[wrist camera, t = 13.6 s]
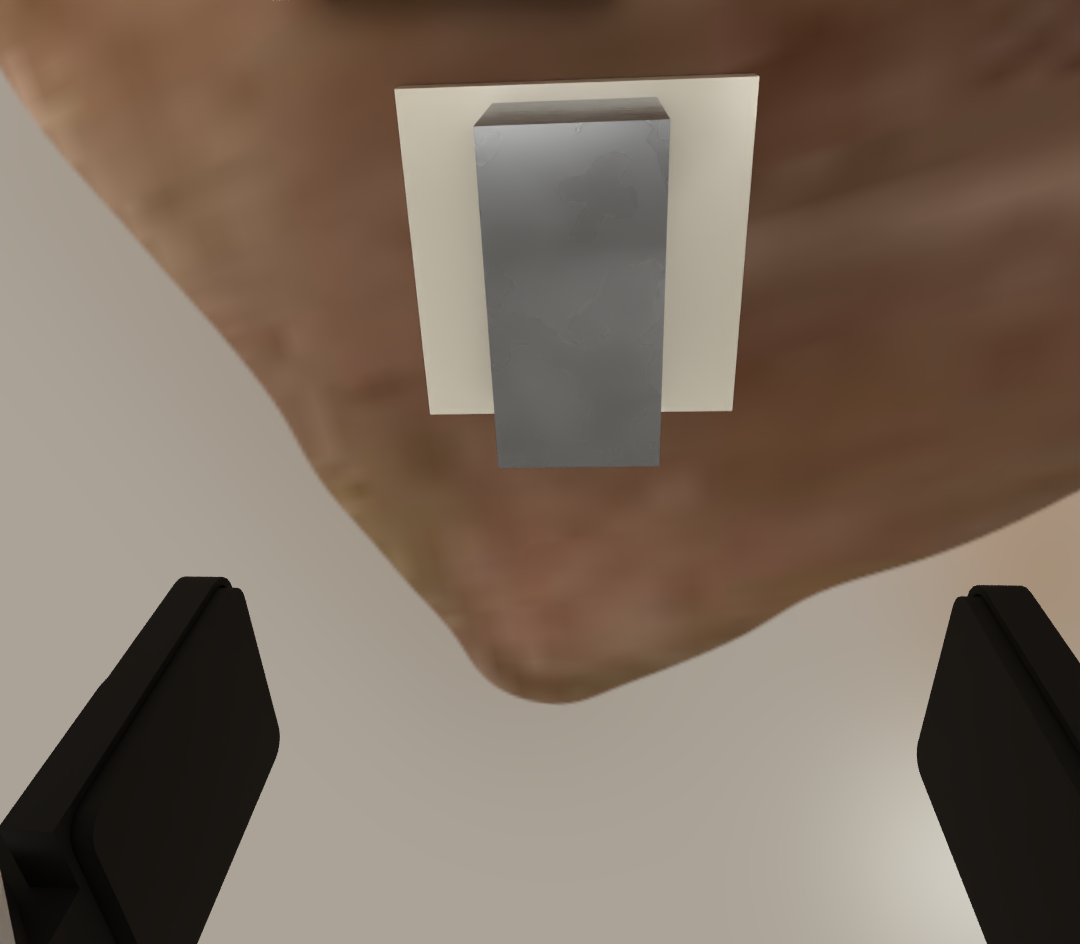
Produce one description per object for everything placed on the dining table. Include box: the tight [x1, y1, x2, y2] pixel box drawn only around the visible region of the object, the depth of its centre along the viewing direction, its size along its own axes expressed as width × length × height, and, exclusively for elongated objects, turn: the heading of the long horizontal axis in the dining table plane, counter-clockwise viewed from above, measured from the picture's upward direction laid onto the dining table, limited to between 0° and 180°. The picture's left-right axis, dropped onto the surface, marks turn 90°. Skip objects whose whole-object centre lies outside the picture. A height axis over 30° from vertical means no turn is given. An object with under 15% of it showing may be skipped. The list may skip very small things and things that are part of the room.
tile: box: [394, 73, 759, 414], centre depth 29 cm, size 11×11×1 cm
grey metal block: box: [473, 97, 670, 468], centre depth 26 cm, size 5×10×5 cm, turn 2°
